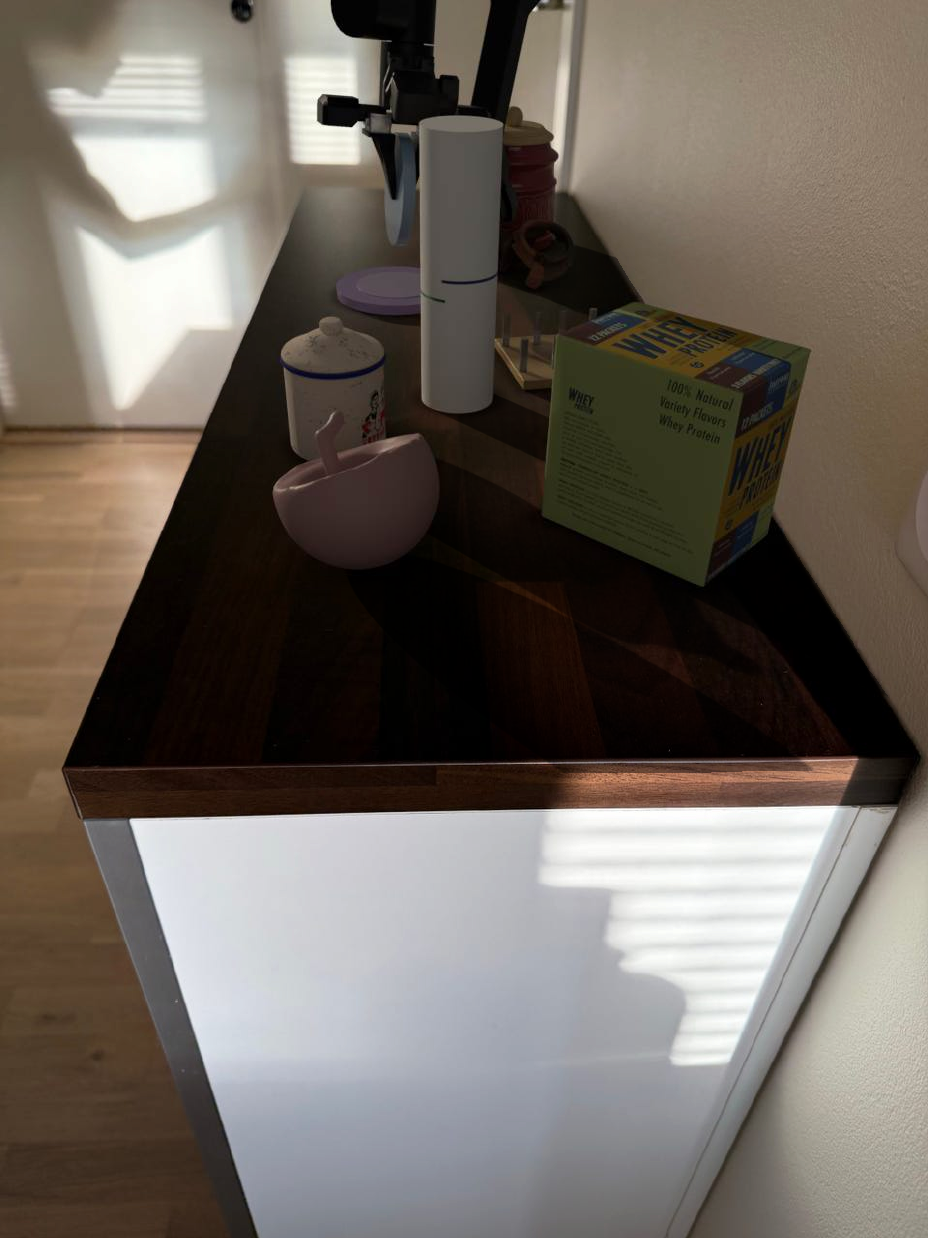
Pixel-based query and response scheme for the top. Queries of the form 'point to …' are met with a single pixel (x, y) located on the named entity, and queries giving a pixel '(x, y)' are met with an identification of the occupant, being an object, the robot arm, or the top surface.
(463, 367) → the cylindrical container
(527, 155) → the kitchen canister
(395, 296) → the lavender plate
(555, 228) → the pottery mug
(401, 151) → the blue plate
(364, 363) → the teacup with lid
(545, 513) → the protein box
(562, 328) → the dish rack
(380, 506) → the mortar and pestle
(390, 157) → the robot arm
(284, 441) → the top surface
